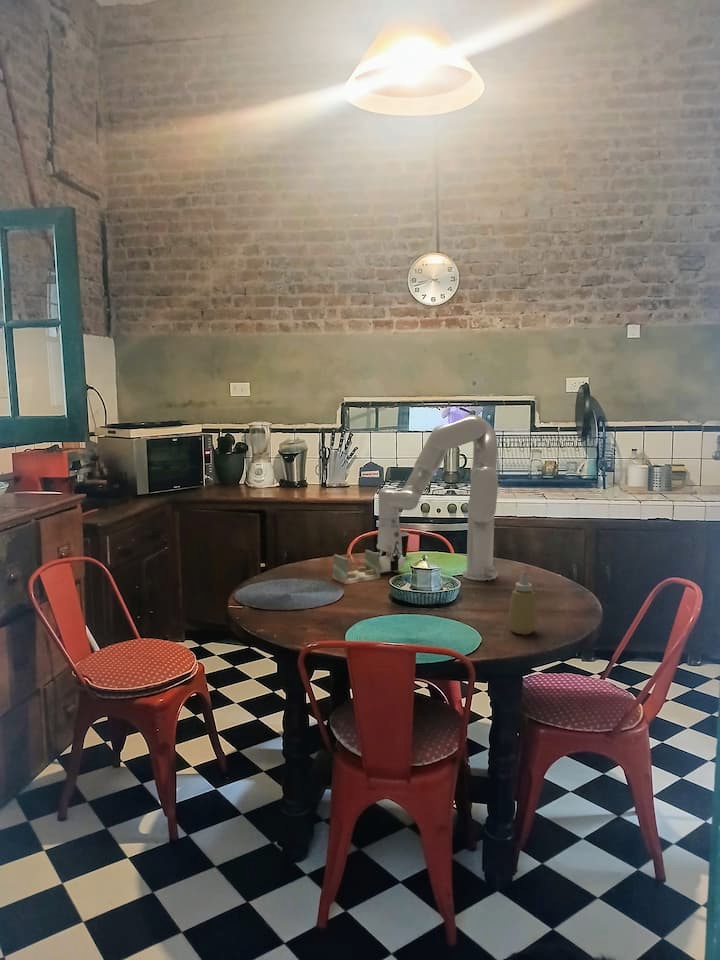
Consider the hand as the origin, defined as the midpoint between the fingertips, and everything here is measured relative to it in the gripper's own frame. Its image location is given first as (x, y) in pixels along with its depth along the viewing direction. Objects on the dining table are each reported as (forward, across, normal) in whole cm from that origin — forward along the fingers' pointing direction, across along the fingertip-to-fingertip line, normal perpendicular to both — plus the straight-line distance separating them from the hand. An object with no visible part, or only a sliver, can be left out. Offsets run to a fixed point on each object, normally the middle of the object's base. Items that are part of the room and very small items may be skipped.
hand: (389, 568), depth 279 cm
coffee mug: (+2, +18, -16) cm, 24 cm away
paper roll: (+1, 0, 0) cm, 1 cm away
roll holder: (+2, 0, +14) cm, 14 cm away
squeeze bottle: (+3, -73, +3) cm, 73 cm away
